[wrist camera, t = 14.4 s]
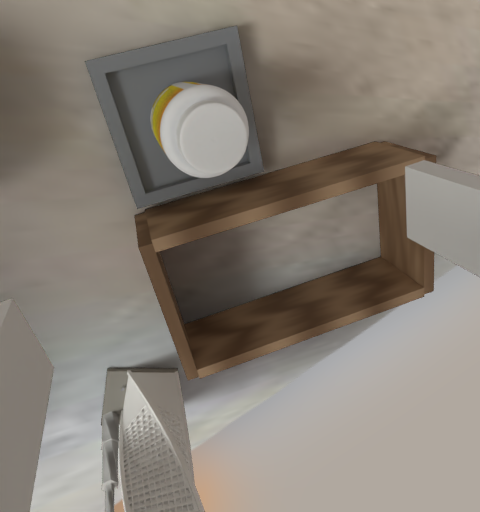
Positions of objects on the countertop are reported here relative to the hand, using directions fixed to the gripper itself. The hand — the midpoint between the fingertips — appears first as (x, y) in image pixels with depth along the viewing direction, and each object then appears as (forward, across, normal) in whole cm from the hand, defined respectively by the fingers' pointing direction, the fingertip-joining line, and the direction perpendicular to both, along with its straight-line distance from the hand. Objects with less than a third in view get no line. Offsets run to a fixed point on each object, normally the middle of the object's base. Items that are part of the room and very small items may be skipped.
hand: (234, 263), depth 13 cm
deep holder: (+22, +8, -12) cm, 26 cm away
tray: (+22, +2, +2) cm, 23 cm away
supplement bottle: (+22, +3, +2) cm, 22 cm away
